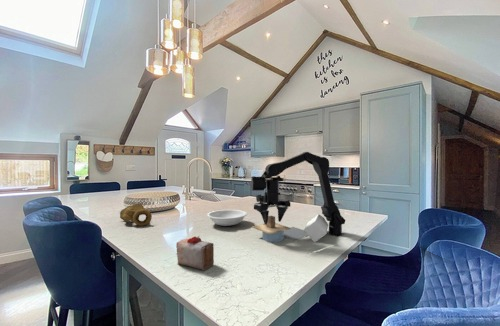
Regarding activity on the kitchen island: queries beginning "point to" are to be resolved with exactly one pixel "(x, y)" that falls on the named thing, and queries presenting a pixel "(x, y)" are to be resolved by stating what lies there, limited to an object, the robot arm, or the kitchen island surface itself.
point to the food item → (195, 253)
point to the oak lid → (271, 226)
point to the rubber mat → (295, 233)
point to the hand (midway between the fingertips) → (272, 223)
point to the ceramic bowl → (273, 236)
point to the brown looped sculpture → (135, 214)
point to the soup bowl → (227, 217)
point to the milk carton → (316, 228)
